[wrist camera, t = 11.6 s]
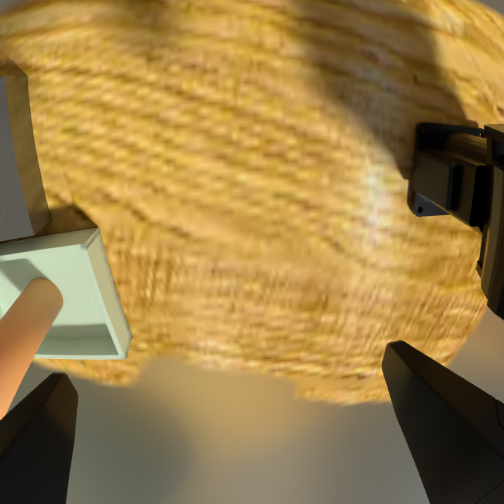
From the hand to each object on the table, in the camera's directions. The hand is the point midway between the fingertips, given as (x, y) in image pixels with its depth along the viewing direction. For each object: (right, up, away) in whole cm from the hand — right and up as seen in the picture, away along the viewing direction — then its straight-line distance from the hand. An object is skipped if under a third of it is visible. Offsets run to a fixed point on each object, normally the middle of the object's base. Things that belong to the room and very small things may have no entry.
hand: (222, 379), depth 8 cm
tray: (-15, 0, +13) cm, 20 cm away
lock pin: (-15, 0, +13) cm, 19 cm away
